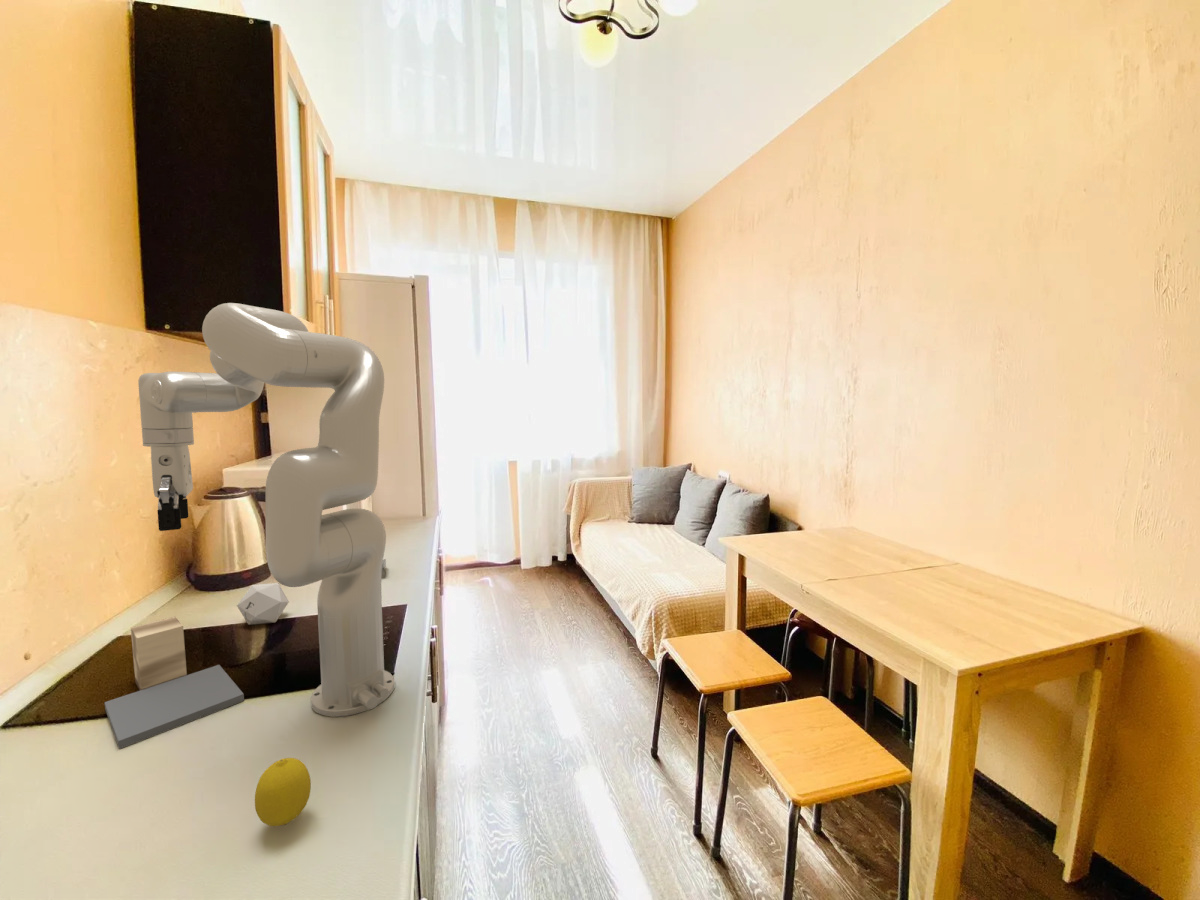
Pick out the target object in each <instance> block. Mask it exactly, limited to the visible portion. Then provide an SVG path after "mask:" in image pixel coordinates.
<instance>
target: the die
mask: <svg viewBox="0 0 1200 900" xmlns="http://www.w3.org/2000/svg"><path fill="white" fill-rule="evenodd" d="M289 603H290V600H289V599H288V597H287V595H286V593H285V591H284V590H283V588H282V587H281V585H280V583H279V582H274V583H263V584H262V583H259V584H252V585H250V587H249V588H248V590H247V592H246V593H245V594H244V595H243V597H241V598H240V600H239V602H238V603H237V605H236V607H237V608H238V610H239V612H240V613H241V615H242V616H243V619H244V620H245V621H246V623H247V625H249V626H250V625H263V624H272V623H276V622H277V621H278V620H279V618H280V616H281V615H282V613H283V611H284V610H285V609H286V608H287V606H288V604H289Z"/></svg>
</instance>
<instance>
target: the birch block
mask: <svg viewBox="0 0 1200 900" xmlns="http://www.w3.org/2000/svg"><path fill="white" fill-rule="evenodd" d="M130 634H131V646H132V649H131V650H132V659H133V670H134V680H135V681H134V682H135V684H136V686H137V688H138V691H140V690H143V689H146V688H149V687H152V686H155V685H158V684H162V683H165V682H168V681H171V680H174V679H177V678H180V677H183V676H186V675H188V673H187V659H186V649H185V648H186V647H185V632H184V625H183V624H182V623H181V621H180V620H179V619H178V618H177V617H176V615H175V616H171V617H168V618H167V617H166V618H163V619H159V620H155V621H151V622H147V623H143V624H139V625H136V626H132V627H130Z"/></svg>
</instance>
